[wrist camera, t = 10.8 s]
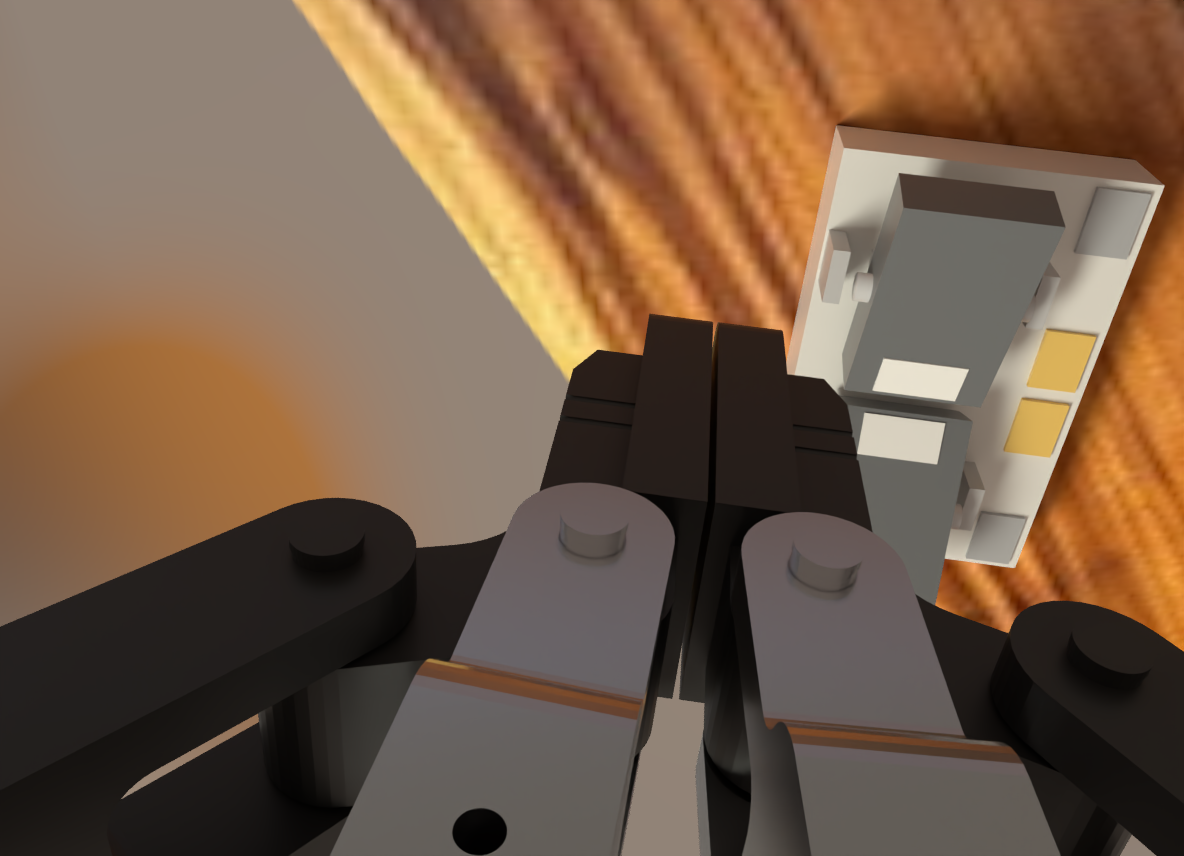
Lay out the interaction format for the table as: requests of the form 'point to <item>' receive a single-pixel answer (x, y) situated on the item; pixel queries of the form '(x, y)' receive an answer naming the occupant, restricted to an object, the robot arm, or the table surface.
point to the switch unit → (1040, 347)
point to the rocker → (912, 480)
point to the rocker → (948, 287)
